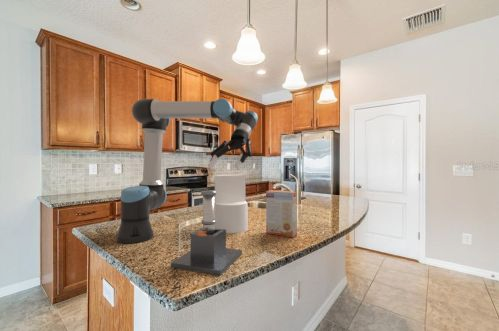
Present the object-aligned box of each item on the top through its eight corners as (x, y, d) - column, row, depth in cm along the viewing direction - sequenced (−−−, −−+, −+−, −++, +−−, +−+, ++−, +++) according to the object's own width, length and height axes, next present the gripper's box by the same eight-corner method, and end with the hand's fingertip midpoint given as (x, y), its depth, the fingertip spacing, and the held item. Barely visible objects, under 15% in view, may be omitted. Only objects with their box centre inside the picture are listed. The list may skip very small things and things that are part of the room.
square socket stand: (170, 267, 76) (170, 232, 76) (199, 248, 93) (199, 220, 93) (220, 275, 70) (220, 238, 70) (241, 254, 87) (241, 224, 87)
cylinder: (209, 227, 126) (209, 175, 126) (238, 223, 134) (238, 174, 134) (222, 235, 111) (222, 176, 111) (253, 230, 119) (253, 175, 119)
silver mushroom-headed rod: (198, 256, 80) (198, 191, 80) (206, 251, 85) (205, 190, 85) (211, 258, 78) (211, 192, 78) (218, 252, 83) (218, 190, 83)
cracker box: (297, 234, 111) (297, 191, 111) (292, 238, 106) (292, 192, 106) (271, 230, 119) (271, 189, 119) (265, 233, 114) (265, 190, 114)
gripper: (268, 139, 105) (252, 173, 92) (222, 142, 117) (203, 173, 104) (262, 126, 100) (246, 160, 87) (216, 130, 112) (195, 161, 99)
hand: (222, 167), depth 96 cm, fingers open, 13 cm apart
